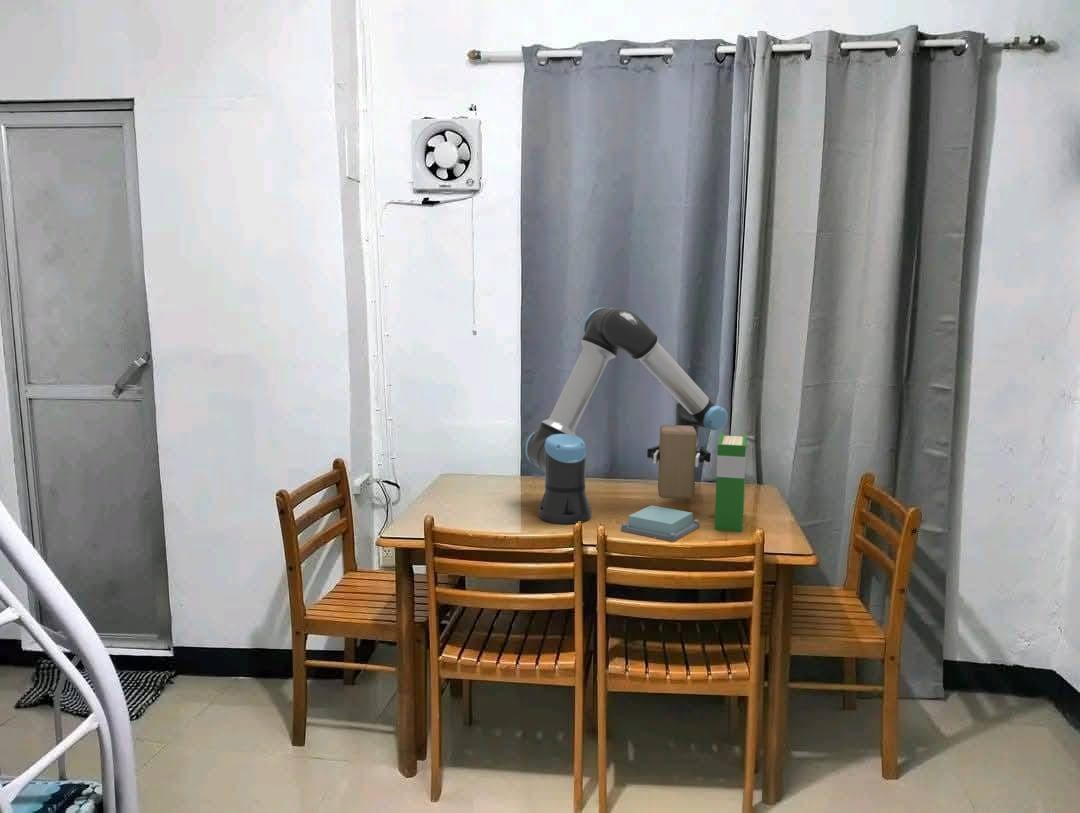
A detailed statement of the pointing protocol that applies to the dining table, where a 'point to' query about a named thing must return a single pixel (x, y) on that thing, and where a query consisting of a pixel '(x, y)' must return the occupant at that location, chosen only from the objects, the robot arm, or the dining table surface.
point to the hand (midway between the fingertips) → (675, 460)
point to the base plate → (661, 523)
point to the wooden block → (677, 461)
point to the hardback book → (730, 482)
